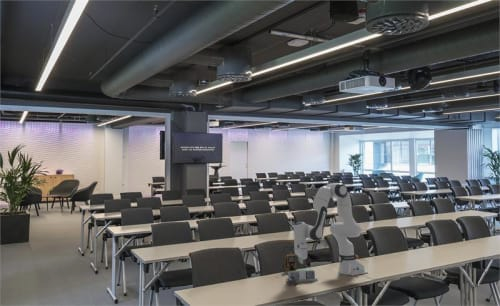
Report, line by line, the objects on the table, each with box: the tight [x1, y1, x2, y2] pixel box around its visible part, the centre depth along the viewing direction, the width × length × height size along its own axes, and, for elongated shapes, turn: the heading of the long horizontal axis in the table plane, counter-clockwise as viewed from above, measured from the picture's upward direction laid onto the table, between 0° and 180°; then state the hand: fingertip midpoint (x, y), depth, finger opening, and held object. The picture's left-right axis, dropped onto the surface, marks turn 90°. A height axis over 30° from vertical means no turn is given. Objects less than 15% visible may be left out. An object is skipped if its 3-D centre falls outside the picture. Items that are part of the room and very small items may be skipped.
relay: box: [287, 279, 298, 286], centre depth 280 cm, size 6×4×4 cm, turn 86°
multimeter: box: [282, 245, 301, 274], centre depth 314 cm, size 15×10×20 cm
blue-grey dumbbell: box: [285, 268, 319, 283], centre depth 289 cm, size 22×7×7 cm, turn 101°
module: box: [296, 268, 307, 280], centre depth 289 cm, size 4×5×7 cm
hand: (300, 262), depth 289 cm, fingers open, 3 cm apart
